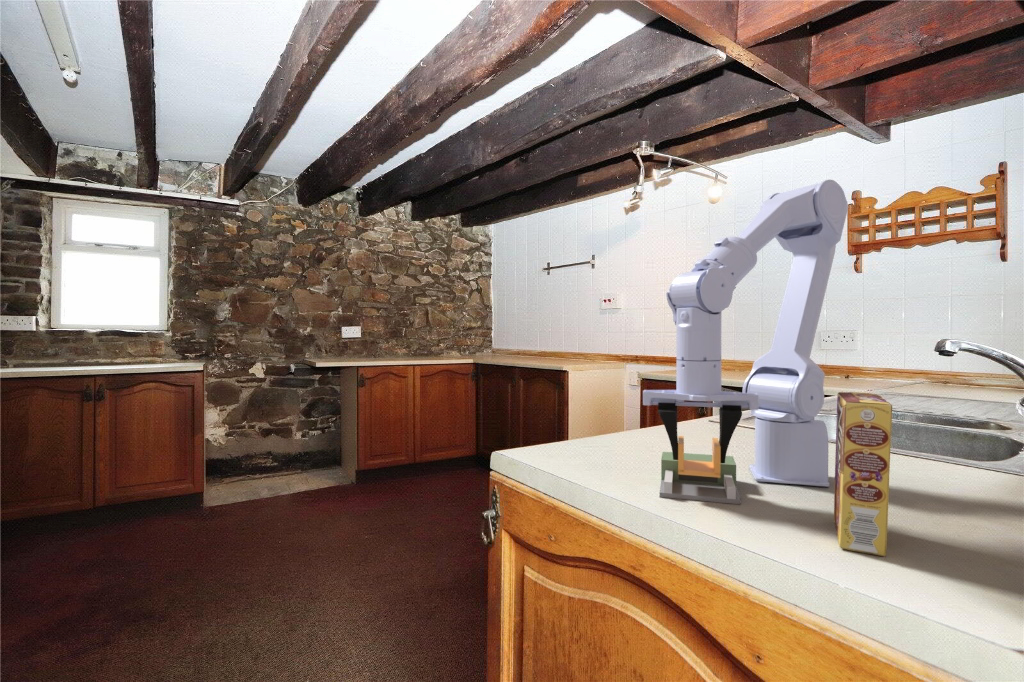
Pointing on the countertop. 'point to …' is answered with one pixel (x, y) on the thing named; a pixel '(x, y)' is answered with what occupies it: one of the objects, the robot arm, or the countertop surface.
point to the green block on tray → (699, 481)
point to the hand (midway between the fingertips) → (698, 459)
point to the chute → (700, 466)
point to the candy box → (862, 472)
